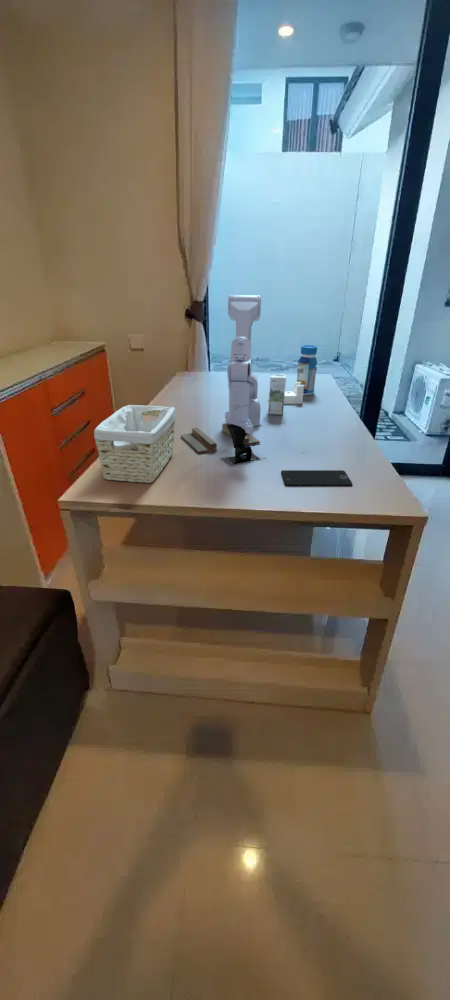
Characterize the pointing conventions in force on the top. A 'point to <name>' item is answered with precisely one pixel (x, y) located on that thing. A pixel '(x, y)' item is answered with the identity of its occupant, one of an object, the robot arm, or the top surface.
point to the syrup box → (276, 394)
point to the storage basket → (135, 443)
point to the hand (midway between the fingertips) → (237, 448)
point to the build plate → (242, 458)
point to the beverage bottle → (307, 368)
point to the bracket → (294, 394)
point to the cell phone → (315, 478)
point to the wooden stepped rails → (210, 440)
